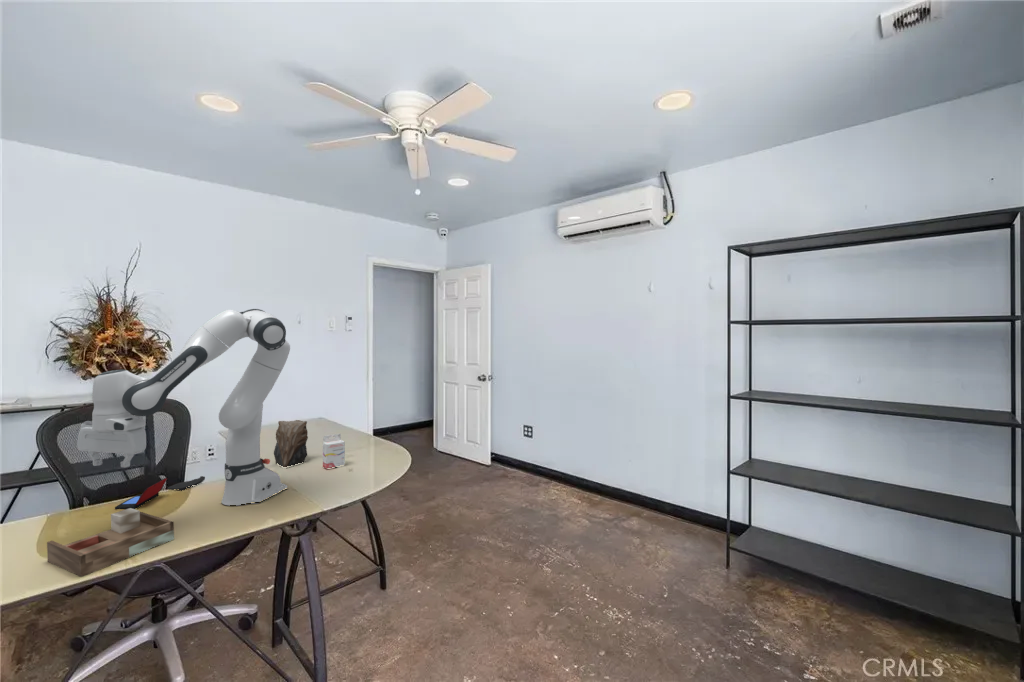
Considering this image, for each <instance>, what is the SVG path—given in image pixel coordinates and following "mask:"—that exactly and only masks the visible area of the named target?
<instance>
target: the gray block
mask: <svg viewBox="0 0 1024 682" xmlns="http://www.w3.org/2000/svg"><path fill="white" fill-rule="evenodd" d="M140 512H141V511H140V510H139V509H132V508H129V509H124V510H119V511H117V512H113V513H111V514H110V523H111V525H110V527H111V528H110V529H111V530H112V531H115V532H118V533H123V532H126V531H129V530H132V529H135V528H137V527H140Z"/></svg>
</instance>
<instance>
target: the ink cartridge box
mask: <svg viewBox="0 0 1024 682" xmlns="http://www.w3.org/2000/svg"><path fill="white" fill-rule="evenodd" d="M322 437H323V439H322V468H323V467H324V468H323V469H325V468H326V469H327V468H332V467H336V466H340V465H344V464H346V463H345V461H346V460H345V459H346V457H345V456H346V452H345V451H346V450H345V449H346V447H345V446H346V445H345V444H346V443H345V441H344V440H343V439H341V437H342V435H341V433H334V434H333V433H332V434H328V435H323V436H322ZM326 469H325V470H326Z"/></svg>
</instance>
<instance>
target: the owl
mask: <svg viewBox="0 0 1024 682" xmlns="http://www.w3.org/2000/svg"><path fill="white" fill-rule="evenodd" d="M307 423H308V421H306V420H305V421H303V420H298V419H295V420H289V421H288V420H279V421H278V427H277V429H276V432H275V440H276V444H275V446H274V450H273V456H274V460H275V464H276V463H278V464H279V465H281V466H283V467H287V466H291V465H295V464H298V463H302V462H304V461H305V460H306V458H307V457H308V451H307V450H308V448H307V441H308V439H309V436H308V429H307ZM302 464H303V463H302Z"/></svg>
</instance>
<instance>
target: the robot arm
mask: <svg viewBox="0 0 1024 682" xmlns="http://www.w3.org/2000/svg"><path fill="white" fill-rule="evenodd" d="M286 335H287V330H286V326H285V325H284V323H283V322H282V321H281V320H280V319H278V318H277V317H276V316H275V315H274V314H272V313H269V312H266V311H265V310H263V309H259V308H251V309H247V310H244V311H240V312H239V311H238V310H235V309H225V310H223V311H222V312H219V313H218V314H216V315H215V316H213V317H212V318H210V319H209V320H207V321H206V322H204V323H203V324H202V325H201V326H200V327H199V328H197V329H196V330H195V331H194V332H193V334H192V335H190V337H189V338H188V339H187V341H186V342H185V343H184V345H183V347H182V349H181V351H180V352H178V354H177V356H176V357H175V358H174V359H173V360H172V361H171V362H170V363H169V364H167V365H166V366H165V367H163V368H162V369H161V370H160V371H159V372H158V373H156V374H155V375H154V376H152V377H151V378H149V377H144V376H141V375H137V374H134V373H133V372H130V371H129V370H127V369H114V370H108V371H104V372H100V373H99V374H97V376H95V377H94V381H93V384H92V394H91V396H92V398H91V399H92V403H93V410H92V413H91V414H92V417H91V419H92V420H86V421H84V422H82V424H80V428H79V429H80V430H79V431H78V436H77V441H76V448H77V449H78V451H80V452H88V455H89V457H90V459H91V460H92V466H94V467H95V466H98V467H99V466H102V465H103V461H104V460H103V458H101V457H100V453H109V454H110V453H111V454H123V457H124V459H123V461H120V467H121V468H129V467H130V466H131V461H132V459H133V457H134V456H135V455H136V454H140V453H143V452H144V451H145V450H146V449H147V432H146V430H145V429H144V427H146V425H147V424H146V420H145V419H142V418H139V417H147V416H149V417H150V416H152V415H154V414H157V412H159V411H160V410H162V408H163V406H164V404H165V403H166V400H167V399H168V396H169V395H170V393H171V392H172V391H173V390H174V389H175V388H176V387H177V386H178V385H180V384H181V383H182V382H183V381H184V380H185V379H186V378H187V377H189V376H190V375H192V373H193V372H195V371H196V370H198V369H199V368H201V367H203V366H204V365H206V364H208V363H210V362H212V361H214V360H215V359H217V358H218V357H220V356H221V355H223V354H224V353H225V352H227V351H228V350H229V349H230V348H232V347H233V346H234V344H235V343H237V342H238V341H240V340H242V339H244V338H249V339H251V340H252V341H255V342H257V349H256V351H255V353H254V355H253V356H252V358H251V360H250V361H249V363H248V365H247V367H246V368H245V370H244V372H243V374H242V376H241V378H240V379H239V381H238V382H237V383H236V385H235V386H234V388H233V389H232V391H231V392H230V394H229V395H228V397H227V399H225V401H224V404H223V405H222V406H221V408H220V410H219V413H218V421H219V423H220V424H221V425H222V426H223V427H224V428H226V429H228V430H227V435H226V440H225V463H224V478H225V480H224V481H225V483H224V485H225V486H224V492H223V495H222V498H221V504H222V505H225V506H230V505H236V506H242V505H241V504H245V505H247V504H246V503H251V502H260V501H262V500H264V499H266V498H268V497H270V496H272V495H273V494H275V493H278V492H279V491H281V490H283V489H285V488H287V487H288V484H285V483H284V482H283V483H282V480H281V477H280V475H279V474H278V473H277V472H276V471H274V470H272V469H270V468H268V467H266V466H265V465H269V464H270V463H271V459H270V458H264V459H263V458H261V433H262V432H261V431H262V425H263V424H262V422H263V409H264V408H263V407H264V402H265V400H266V399H267V398H268V396H269V394H270V392H271V391H273V388H274V386H275V385H276V382H277V380H278V379H279V377H280V375H281V373H282V371H283V369H284V367H285V364H286V363H287V361H288V357H289V354H290V351H291V344H290V343H289V342H288V341H287V339H286ZM137 416H138V417H137ZM251 504H252V503H251Z"/></svg>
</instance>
